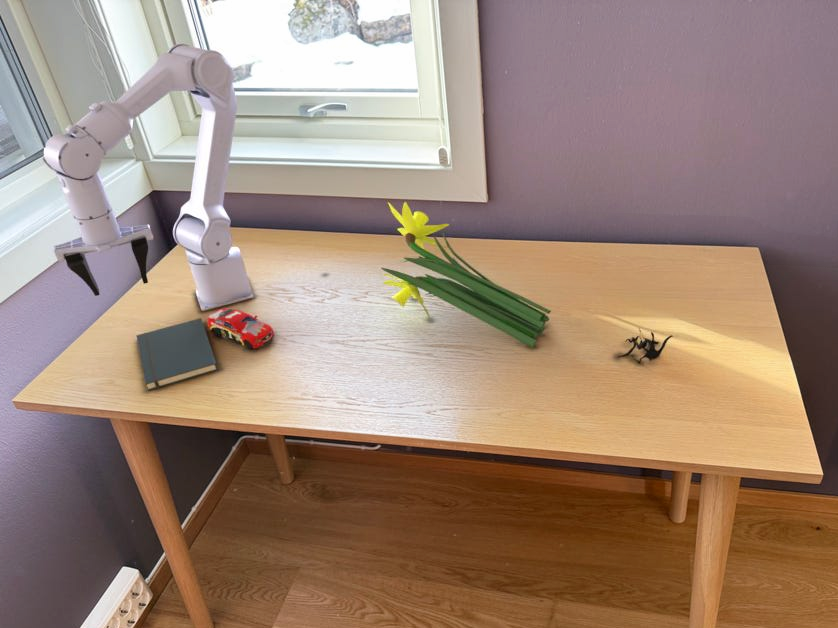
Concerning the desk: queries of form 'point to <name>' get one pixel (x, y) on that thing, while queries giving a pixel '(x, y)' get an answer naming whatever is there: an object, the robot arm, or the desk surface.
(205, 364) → the notebook
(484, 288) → the daffodil flowers
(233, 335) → the race car
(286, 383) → the desk surface
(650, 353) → the creature
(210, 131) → the robot arm
